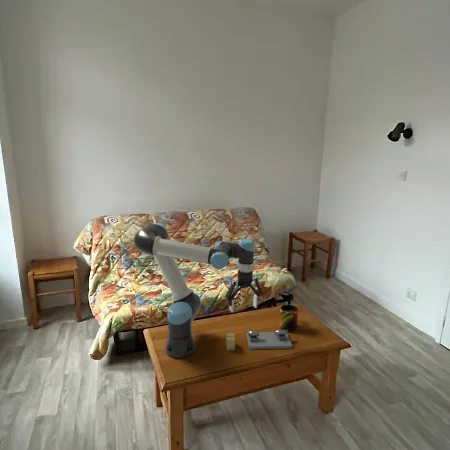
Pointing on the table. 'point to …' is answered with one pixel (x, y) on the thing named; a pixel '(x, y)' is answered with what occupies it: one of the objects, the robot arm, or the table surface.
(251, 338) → the shaft left
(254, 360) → the table surface
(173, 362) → the table surface
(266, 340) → the base plate
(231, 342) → the tan rectangular block
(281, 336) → the shaft right
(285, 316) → the patterned mug
